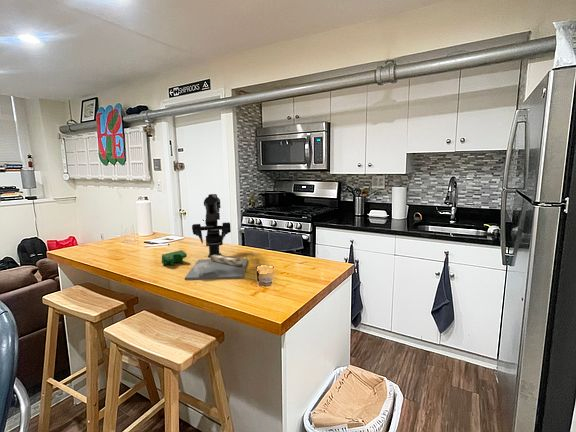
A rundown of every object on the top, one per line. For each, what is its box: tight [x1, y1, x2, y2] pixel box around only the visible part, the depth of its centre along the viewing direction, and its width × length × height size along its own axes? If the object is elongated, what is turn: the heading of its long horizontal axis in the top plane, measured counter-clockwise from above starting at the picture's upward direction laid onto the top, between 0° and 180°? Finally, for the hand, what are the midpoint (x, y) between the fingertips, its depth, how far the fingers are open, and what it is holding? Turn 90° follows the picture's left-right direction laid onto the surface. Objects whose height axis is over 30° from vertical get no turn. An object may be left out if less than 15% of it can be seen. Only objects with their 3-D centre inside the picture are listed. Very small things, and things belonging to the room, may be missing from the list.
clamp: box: [161, 249, 188, 267], centre depth 164 cm, size 12×6×9 cm, turn 134°
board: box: [184, 258, 248, 281], centre depth 155 cm, size 28×26×1 cm
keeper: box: [193, 261, 214, 277], centre depth 146 cm, size 8×7×5 cm
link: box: [209, 255, 243, 266], centre depth 161 cm, size 20×4×4 cm, turn 58°
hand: (211, 242), depth 154 cm, fingers open, 9 cm apart
